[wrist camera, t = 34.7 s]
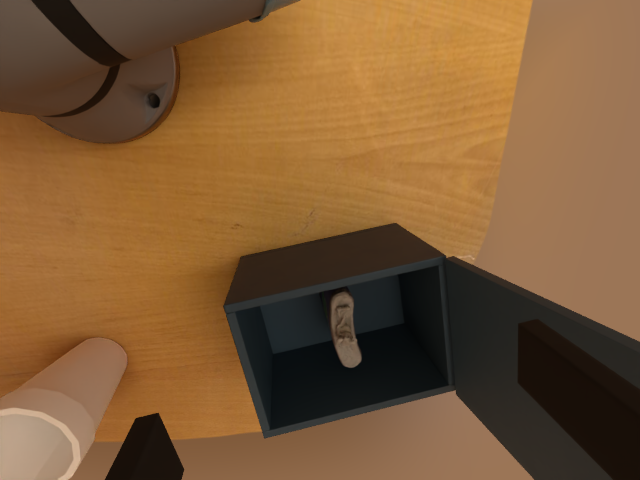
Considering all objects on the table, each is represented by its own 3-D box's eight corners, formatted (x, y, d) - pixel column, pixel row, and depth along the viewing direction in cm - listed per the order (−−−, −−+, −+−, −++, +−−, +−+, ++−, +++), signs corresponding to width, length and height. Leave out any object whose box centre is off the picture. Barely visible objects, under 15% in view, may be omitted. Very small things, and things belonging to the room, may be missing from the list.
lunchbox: (268, 356, 43) (264, 438, 31) (240, 256, 39) (222, 305, 27) (408, 323, 45) (457, 390, 32) (395, 222, 40) (446, 255, 28)
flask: (347, 322, 42) (368, 378, 32) (325, 327, 42) (339, 384, 32) (336, 257, 40) (355, 295, 30) (313, 262, 40) (324, 302, 29)
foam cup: (129, 320, 40) (60, 399, 27) (149, 382, 42) (95, 480, 30) (48, 333, 39) (-61, 420, 26) (73, 396, 41) (-15, 501, 29)
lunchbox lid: (796, 765, 12) (898, 684, 14) (936, 498, 8) (1068, 412, 9) (455, 394, 32) (509, 374, 33) (445, 258, 28) (507, 240, 29)
